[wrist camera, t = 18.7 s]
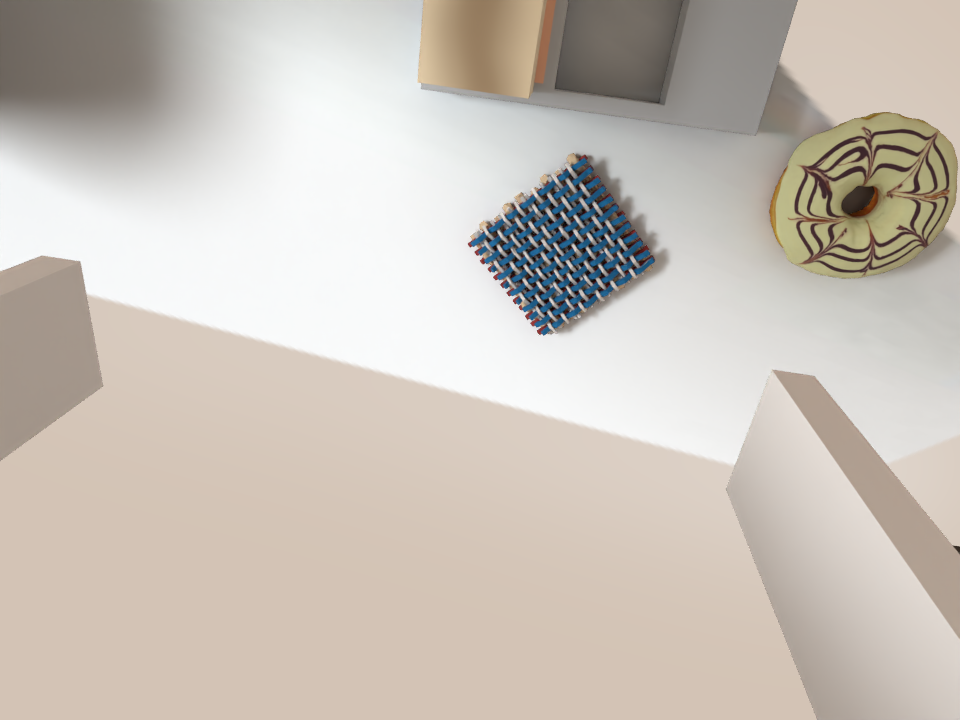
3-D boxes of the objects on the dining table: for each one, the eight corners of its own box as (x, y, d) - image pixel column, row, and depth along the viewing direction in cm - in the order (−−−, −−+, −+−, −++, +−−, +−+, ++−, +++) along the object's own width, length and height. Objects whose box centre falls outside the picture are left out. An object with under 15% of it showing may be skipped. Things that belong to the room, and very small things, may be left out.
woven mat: (462, 234, 46) (458, 241, 45) (579, 144, 43) (580, 148, 41) (542, 336, 49) (542, 346, 48) (658, 261, 46) (662, 269, 44)
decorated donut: (761, 132, 41) (779, 139, 38) (940, 93, 39) (976, 96, 35) (767, 278, 45) (784, 296, 42) (929, 250, 43) (960, 266, 40)
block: (439, 78, 39) (417, 82, 33) (452, -73, 35) (430, -101, 29) (532, 92, 39) (528, 98, 32) (555, -59, 35) (556, -85, 29)
